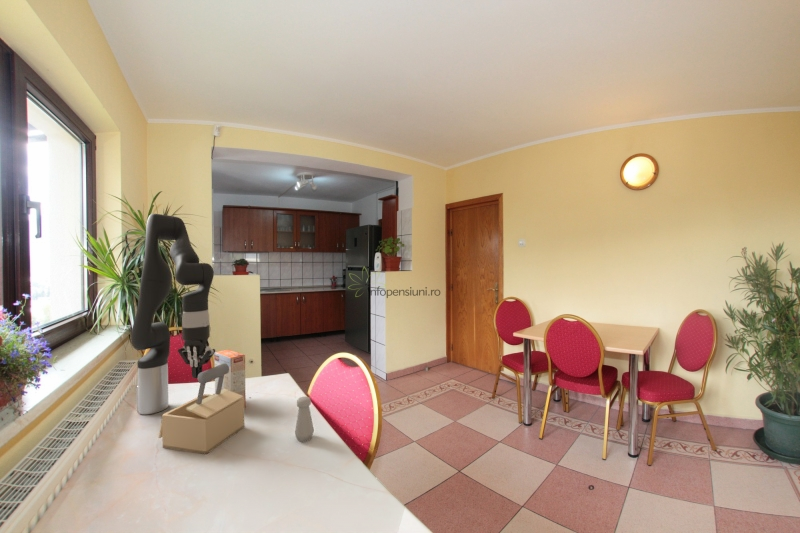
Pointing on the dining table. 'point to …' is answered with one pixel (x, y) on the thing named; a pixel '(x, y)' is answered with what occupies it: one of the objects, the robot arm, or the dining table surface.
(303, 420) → the salt shaker
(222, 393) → the door with pull handle
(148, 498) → the dining table surface
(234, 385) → the cracker box
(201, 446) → the tan open box
